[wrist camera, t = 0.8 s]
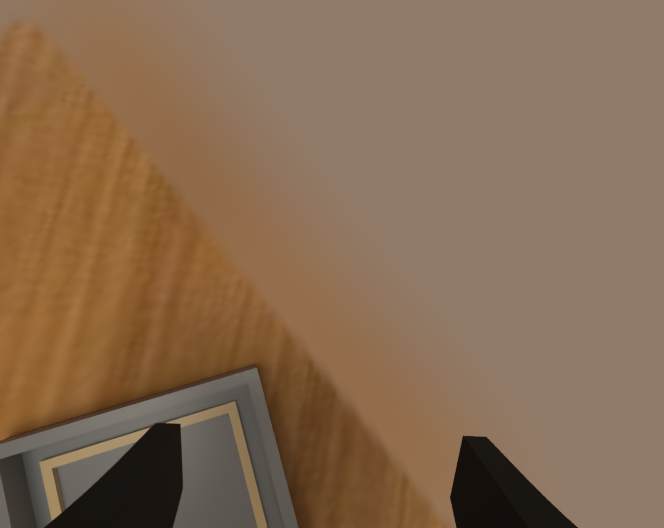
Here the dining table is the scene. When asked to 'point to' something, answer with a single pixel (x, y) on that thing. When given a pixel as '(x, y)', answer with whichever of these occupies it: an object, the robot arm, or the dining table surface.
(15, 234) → the dining table surface
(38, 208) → the dining table surface
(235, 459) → the walled box
